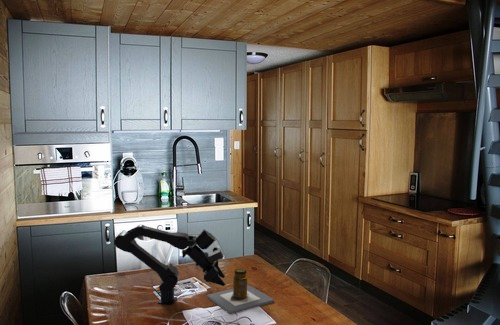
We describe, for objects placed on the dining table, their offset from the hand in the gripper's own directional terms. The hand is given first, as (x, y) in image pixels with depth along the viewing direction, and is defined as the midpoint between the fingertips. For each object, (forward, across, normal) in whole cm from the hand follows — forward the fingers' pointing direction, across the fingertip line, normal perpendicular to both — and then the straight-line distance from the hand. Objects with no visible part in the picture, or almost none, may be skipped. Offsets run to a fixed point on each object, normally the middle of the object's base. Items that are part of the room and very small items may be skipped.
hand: (224, 281), depth 180 cm
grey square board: (+11, 0, +1) cm, 11 cm away
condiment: (+10, -1, 0) cm, 10 cm away
